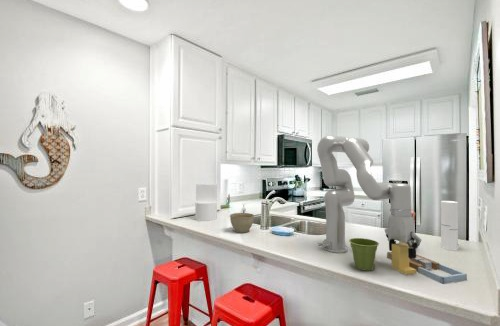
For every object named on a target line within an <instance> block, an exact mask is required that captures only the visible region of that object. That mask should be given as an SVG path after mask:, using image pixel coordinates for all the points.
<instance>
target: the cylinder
mask: <svg viewBox="0 0 500 326" xmlns="http://www.w3.org/2000/svg"><path fill="white" fill-rule="evenodd" d="M194 215H195V220H196V221H197V222H213V221H216V220H217V219H218V184H217V183H198V184H197V183H196V184H195V214H194Z"/></svg>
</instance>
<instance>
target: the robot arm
mask: <svg viewBox="0 0 500 326" xmlns="http://www.w3.org/2000/svg"><path fill="white" fill-rule="evenodd" d="M369 151H370V144H369V143H368V141H367V140H366V139H364V138H359V137H347V136H337V135H326V136H323V137H322V138H321V139H320V140H319V141H318V144H317V151H316V152H317V156H318V158H319V159H318V160H319V162H320V169H321V174H322V180H323V183H324V184H325V186H327V187H330V188H331V187H334V188H332V189H329V190H327V191H326V192H325V194H324V197H323V201H324V205H325V215H326V216H325V239H324V240H323V241H319V242H317V245H318V247H322V248H323V249H324V250H325V251H326V252H331V253H336V254H337V253H338V254H343V253H347V252H349V247H347V245H346V214H345V211H344V208H343V207H349V206H351V205H353V204H354V202H355V190H354V186H353V181H352V177H351V174H350V173H349V172H348V171H347V170H345V169H344V168H343V169H342V168H339V166H338V162H337V158H336V156H335V155H334V154H333V153H345V155H346V156H347V158H348V159H349V160H350V161H349V162H351V164H352V166H353V167H354V168H355V170H356V179H357V183H358V185H359V187H360V188H361V189H362V190H361V191H363V193H364V194H365V195H366V197H368V199H371V200H373V201H380V200H381V201H382V200H390V203H389V204H390V208H389V211H390V214H389V216H388V220H387V228H385V229H384V233H385V236H386V239H387V241H388V250H389V252H392V244H397V242H399V241H400V242H404V243H406V242H407V244H408V246H409V247H410V248H408V257H409V258H410V259H411V258H416V254H417V249H418V247H419V246H420V244H421V242H422V239H421V238H420V237H419V236H418V235H417V233H416V229H415V228H416V227H414V222H413V218H412V213H411V209H412V191H411V189H412V187H411V185H410V184H408V183H400V182H399V183H396V182H395V183H392V182H385V181H384V182H382V181H381V182H377V181H376V179H375V177H374V176H373V174H372V172H371V167H372V166H373V164H374V159H373V158H372V156H370V154H369V153H368V152H369ZM335 187H336V188H335ZM414 241H415V242H414ZM411 243H412V244H411Z"/></svg>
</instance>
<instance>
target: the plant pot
mask: <svg viewBox="0 0 500 326" xmlns="http://www.w3.org/2000/svg"><path fill="white" fill-rule="evenodd" d="M348 243H350V248H351V251H352V258H353V262H354V267H355V268H356V269H358V270H361V271H363V270H364V271H367V272H368V271H369V272H370V271H372V270H373V269H374V265H375V258H376V253H377V249H378V246H379V245H380V243H379V242H378V241H376V240H374V239H370V238H362V237H352V238H349V240H348Z"/></svg>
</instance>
